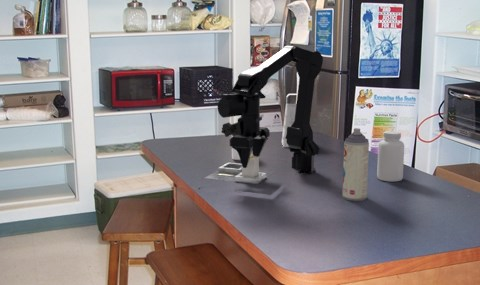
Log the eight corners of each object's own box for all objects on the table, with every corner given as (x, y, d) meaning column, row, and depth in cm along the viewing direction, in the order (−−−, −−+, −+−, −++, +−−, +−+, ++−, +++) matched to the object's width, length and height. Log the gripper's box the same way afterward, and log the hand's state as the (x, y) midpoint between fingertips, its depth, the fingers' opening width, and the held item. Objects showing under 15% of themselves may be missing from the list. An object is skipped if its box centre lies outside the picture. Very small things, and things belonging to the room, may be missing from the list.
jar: (239, 164, 216) (238, 130, 213) (226, 160, 222) (226, 127, 220) (260, 161, 221) (260, 128, 218) (247, 156, 227) (247, 124, 225)
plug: (258, 178, 194) (258, 154, 192) (254, 181, 190) (254, 157, 189) (246, 177, 196) (246, 153, 194) (242, 180, 192) (241, 156, 190)
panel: (275, 175, 203) (275, 166, 202) (258, 188, 188) (258, 179, 188) (224, 169, 209) (224, 162, 209) (204, 181, 195) (203, 173, 194)
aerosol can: (345, 193, 183) (347, 125, 178) (368, 195, 180) (371, 127, 176) (339, 199, 176) (341, 130, 172) (363, 202, 174) (366, 131, 170)
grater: (309, 147, 243) (311, 96, 239) (282, 147, 243) (283, 96, 239) (307, 141, 253) (308, 92, 249) (281, 141, 253) (282, 92, 249)
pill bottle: (404, 177, 200) (407, 131, 196) (399, 183, 192) (402, 135, 189) (379, 174, 203) (382, 129, 200) (374, 180, 196) (376, 133, 193)
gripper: (237, 108, 200) (237, 155, 203) (213, 117, 183) (213, 168, 186) (270, 110, 196) (269, 158, 199) (248, 119, 179) (248, 172, 182)
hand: (250, 164), depth 192 cm, fingers open, 9 cm apart
